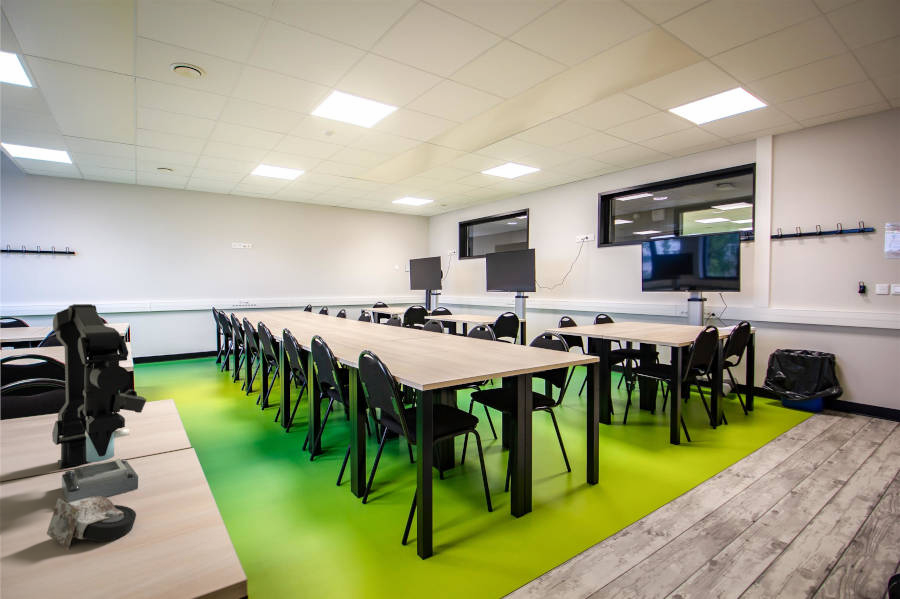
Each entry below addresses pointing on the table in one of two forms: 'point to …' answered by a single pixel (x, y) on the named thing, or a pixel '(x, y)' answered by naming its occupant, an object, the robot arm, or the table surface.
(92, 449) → the pump canister
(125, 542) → the table surface
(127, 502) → the table surface
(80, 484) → the grey metal socket plate
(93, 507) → the caster wheel
